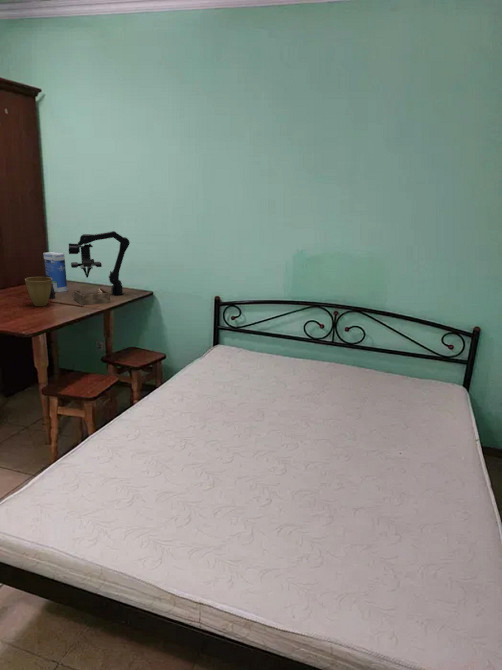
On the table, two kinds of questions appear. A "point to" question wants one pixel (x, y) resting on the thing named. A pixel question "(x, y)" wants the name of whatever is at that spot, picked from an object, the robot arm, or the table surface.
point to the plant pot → (39, 289)
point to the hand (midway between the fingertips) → (87, 277)
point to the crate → (92, 297)
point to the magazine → (52, 293)
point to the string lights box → (56, 270)
